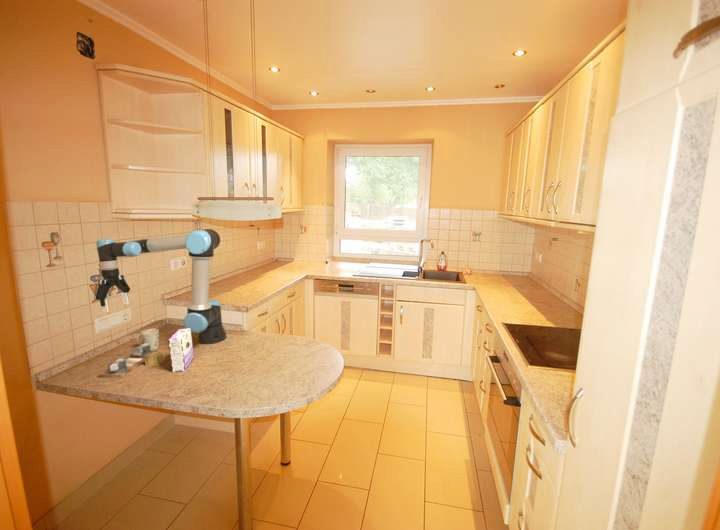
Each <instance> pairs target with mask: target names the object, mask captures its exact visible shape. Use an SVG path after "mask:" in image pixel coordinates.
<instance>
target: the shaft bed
mask: <svg viewBox="0 0 720 530" xmlns="http://www.w3.org/2000/svg"><path fill="white" fill-rule="evenodd" d="M142 344H143V345H138V346H136V347H132V348H131V349H132V354H131V355H130V356H128V357H127V358H126V356H125V355H124V356H117V357H115V361H111V362H110V363H109V364H108V365H107V368H108V369H106V370H104V371H103V372H100V374H99V373H98V375H97V377H98V378H122V377H124V376H125V375H127V374H128V373H130V372H131V371H133V370H134V369H136V368H138V367H139V366H141V365H142V364H144V363H145V357H144V356H145V355H147V354H149V353H150V352H159V351H155V350H151V348H150V346H149V343H144V342H143V343H142Z"/></svg>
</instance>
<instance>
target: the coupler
mask: <svg viewBox="0 0 720 530" xmlns="http://www.w3.org/2000/svg"><path fill="white" fill-rule="evenodd" d="M144 357H145V362H144V363H145V366H146V367H150V366H151V367H152V366H153V367H157V366H160V365H161V364H162V363H163V362H164V361H165V359H164V351H158V352H150V353H149V354H147V355H145V356H144Z"/></svg>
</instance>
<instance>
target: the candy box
mask: <svg viewBox="0 0 720 530" xmlns="http://www.w3.org/2000/svg"><path fill="white" fill-rule="evenodd" d="M168 346H169V354H170V362H171V363H170V364H171V371H172V373H178V372H185V371H187V369H188V368H189V366H190V365H191V363H192V362H193V360H194V359H195V356H194V355H195V354H194V353H195V352H194V347H193V346H194V345H193V338H192V332H191V329H190V328H188V329H186V328H179V329H178V330H177V331H175V332H174V333H173V335H171V336H170V338H169V339H168Z"/></svg>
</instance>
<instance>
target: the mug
mask: <svg viewBox="0 0 720 530" xmlns="http://www.w3.org/2000/svg"><path fill="white" fill-rule="evenodd" d="M140 337H141V339H142V341H143V343H142V342H141V341H140ZM159 340H160V329H159V328H149V329H144V330H143V331H141V332H140V333H139V334H137V336H136V342H137V344H138V345H139V346H141V345H143V344H144V343H149V346H150V348H151V351H155V350H157V349H159V347H160V346H159V345H160V344H159V343H160V341H159Z"/></svg>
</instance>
